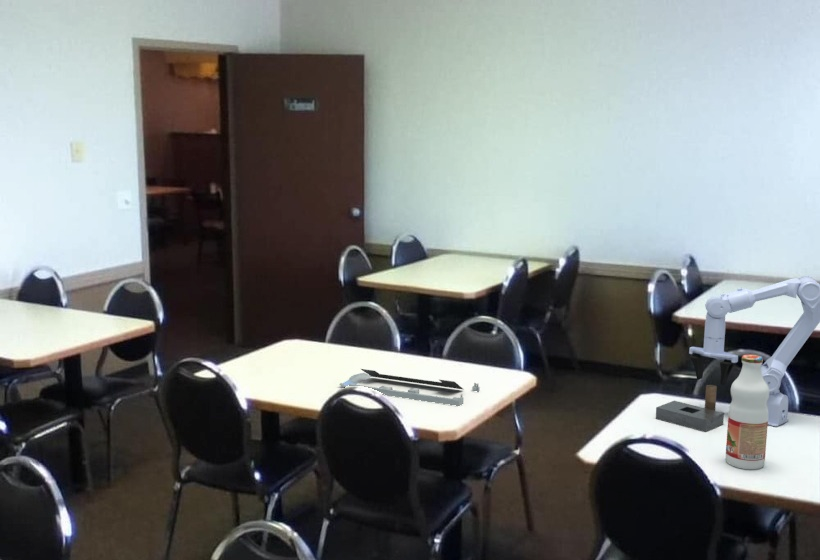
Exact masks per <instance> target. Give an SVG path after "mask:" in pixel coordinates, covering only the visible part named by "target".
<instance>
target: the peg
mask: <svg viewBox="0 0 820 560" xmlns="http://www.w3.org/2000/svg"><path fill="white" fill-rule="evenodd" d="M717 389H718V387H717V385H714V384H706V385H705V399H704V400H705V401H704V408H706V409H710V410H714V411H716V405H717V404H716V402H717Z"/></svg>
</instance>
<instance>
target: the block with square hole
mask: <svg viewBox="0 0 820 560" xmlns="http://www.w3.org/2000/svg"><path fill="white" fill-rule="evenodd" d="M724 416H725V412H723V411H717V410H715V411H714V410H710V409H706V408H705V407H701V406H697V405H694V404H690V403H685V402H682V401H677V400H672V401H670V402H669V401H668V402H666V403H665V404H661V405H659V406H656V408H655V419H656V420H659V421H663V422H667V423H671V424H674V425H678V426H682V427H685V428H689V429H692V430H696V431H699V432H703V433H706V432H709V431H712V430H714V429H716V428H719V427H720V426H723V425H724V418H725V417H724Z"/></svg>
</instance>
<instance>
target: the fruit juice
mask: <svg viewBox="0 0 820 560" xmlns="http://www.w3.org/2000/svg"><path fill="white" fill-rule="evenodd" d="M763 360H764V359H763V356H761V355H758V354H743V355H741V363H742V366H741V370H740V373H739V375H738V376H737V378H735V380H734V381H733V382H732V383H731V387H730V397H731V402H730V403H729V406H728V413H727V415H728V416H727V430H726V431H727V432H726V445H725V446H726V447H725V461H726V463H727V464H728V465H729V466H731V467H732V466H733V467H734V468H739V469H743V470H758V469H762V468H763V467H764V465H765V462H766V452H767V439H768V438H767V437H768V426H769V425H768V408H767V400H768V398H769V387H768V385H767V384H766V382H765V381H764V379H763V376H762V372H761V365H763V362H764V361H763Z"/></svg>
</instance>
